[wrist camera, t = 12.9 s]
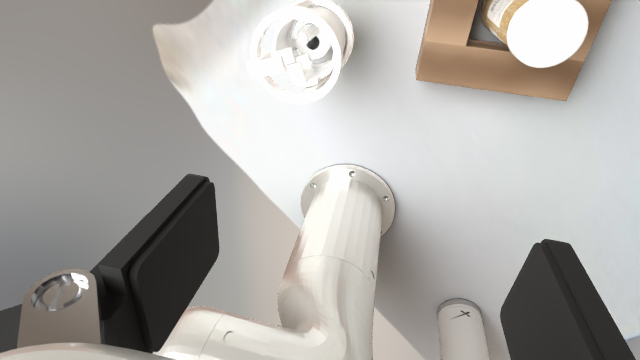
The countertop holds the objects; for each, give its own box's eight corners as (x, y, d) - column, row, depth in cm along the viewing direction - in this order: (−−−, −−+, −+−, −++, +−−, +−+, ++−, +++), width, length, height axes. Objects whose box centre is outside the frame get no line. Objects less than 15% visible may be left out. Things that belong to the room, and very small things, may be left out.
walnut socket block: (552, 88, 39) (566, 101, 35) (415, 69, 40) (416, 80, 37) (621, -76, 31) (647, -79, 28) (450, -90, 33) (455, -95, 30)
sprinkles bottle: (490, 42, 38) (525, 81, 26) (472, -1, 36) (502, 22, 25) (539, 16, 36) (599, 47, 24) (522, -30, 34) (579, -20, 23)
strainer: (287, 1, 39) (231, 23, 27) (353, -17, 37) (326, -2, 25) (304, 67, 43) (261, 115, 30) (365, 55, 41) (347, 100, 28)
